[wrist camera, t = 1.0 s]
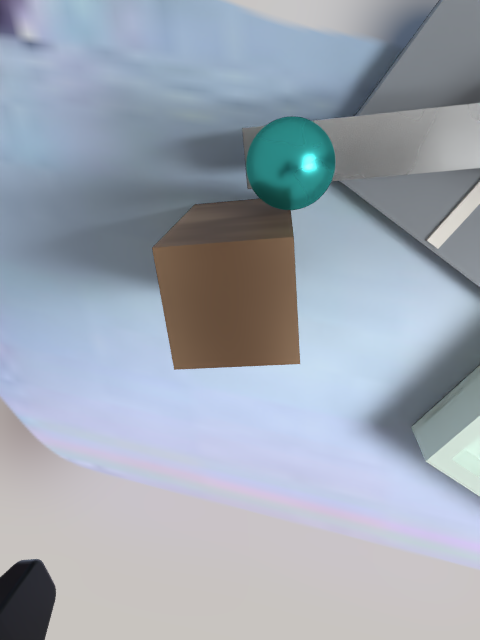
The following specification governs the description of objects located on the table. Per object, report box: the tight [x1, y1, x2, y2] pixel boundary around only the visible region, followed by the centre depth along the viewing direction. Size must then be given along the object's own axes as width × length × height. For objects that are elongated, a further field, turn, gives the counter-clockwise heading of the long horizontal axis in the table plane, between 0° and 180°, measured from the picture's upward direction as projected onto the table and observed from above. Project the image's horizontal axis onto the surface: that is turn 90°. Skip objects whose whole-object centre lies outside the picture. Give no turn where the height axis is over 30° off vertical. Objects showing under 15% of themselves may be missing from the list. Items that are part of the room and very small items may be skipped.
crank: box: [242, 103, 480, 210], centre depth 14 cm, size 12×4×5 cm, turn 96°
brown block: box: [152, 199, 300, 370], centre depth 16 cm, size 4×4×7 cm
